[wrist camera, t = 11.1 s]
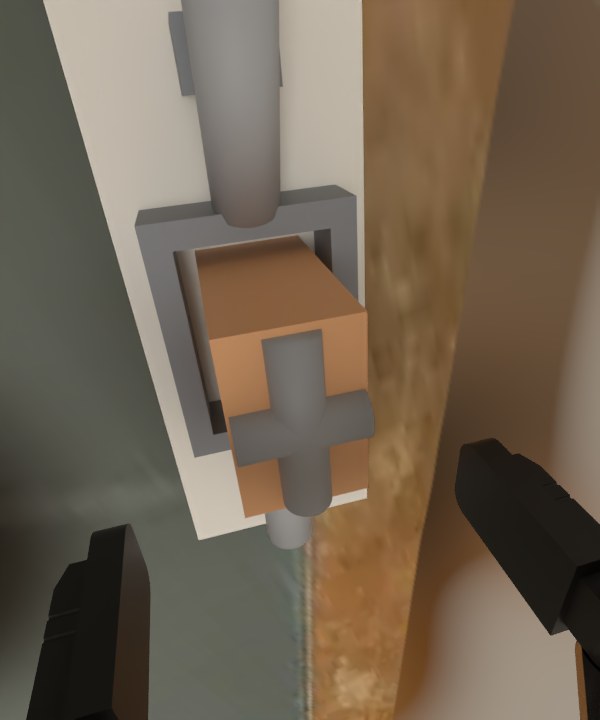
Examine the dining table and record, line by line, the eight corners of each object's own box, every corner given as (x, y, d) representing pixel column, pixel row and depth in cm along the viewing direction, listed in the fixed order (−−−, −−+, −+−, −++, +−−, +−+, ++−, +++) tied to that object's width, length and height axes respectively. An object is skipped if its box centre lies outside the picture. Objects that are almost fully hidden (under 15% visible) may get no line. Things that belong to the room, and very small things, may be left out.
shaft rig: (197, 519, 27) (205, 641, 21) (33, -63, 14) (-69, -182, 8) (358, 480, 29) (408, 583, 23) (345, -74, 16) (456, -180, 10)
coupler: (194, 250, 18) (210, 355, 11) (297, 235, 19) (379, 324, 12) (221, 386, 22) (248, 538, 14) (308, 369, 22) (377, 505, 15)
